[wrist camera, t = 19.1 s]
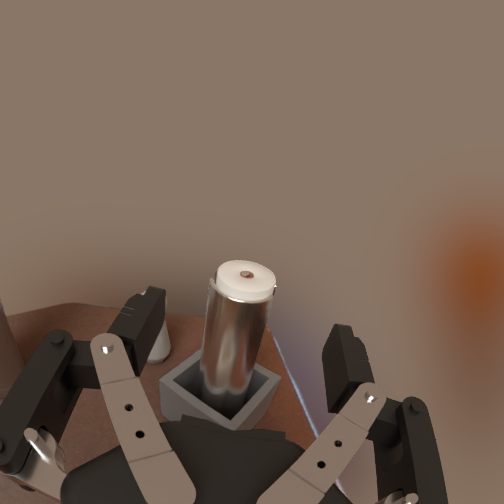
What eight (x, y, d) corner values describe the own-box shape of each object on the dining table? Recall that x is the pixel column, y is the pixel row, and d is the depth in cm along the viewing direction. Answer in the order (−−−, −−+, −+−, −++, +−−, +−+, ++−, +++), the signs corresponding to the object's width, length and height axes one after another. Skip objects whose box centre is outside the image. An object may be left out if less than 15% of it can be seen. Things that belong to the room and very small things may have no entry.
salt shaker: (156, 373, 44) (154, 312, 39) (130, 357, 46) (125, 295, 41) (177, 354, 49) (179, 294, 44) (151, 339, 51) (151, 279, 46)
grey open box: (161, 414, 38) (159, 379, 34) (209, 374, 47) (214, 338, 43) (224, 460, 33) (233, 432, 29) (267, 410, 42) (281, 376, 38)
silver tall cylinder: (218, 391, 44) (244, 251, 33) (248, 417, 40) (292, 279, 29) (186, 411, 39) (197, 266, 28) (216, 441, 36) (246, 301, 25)
